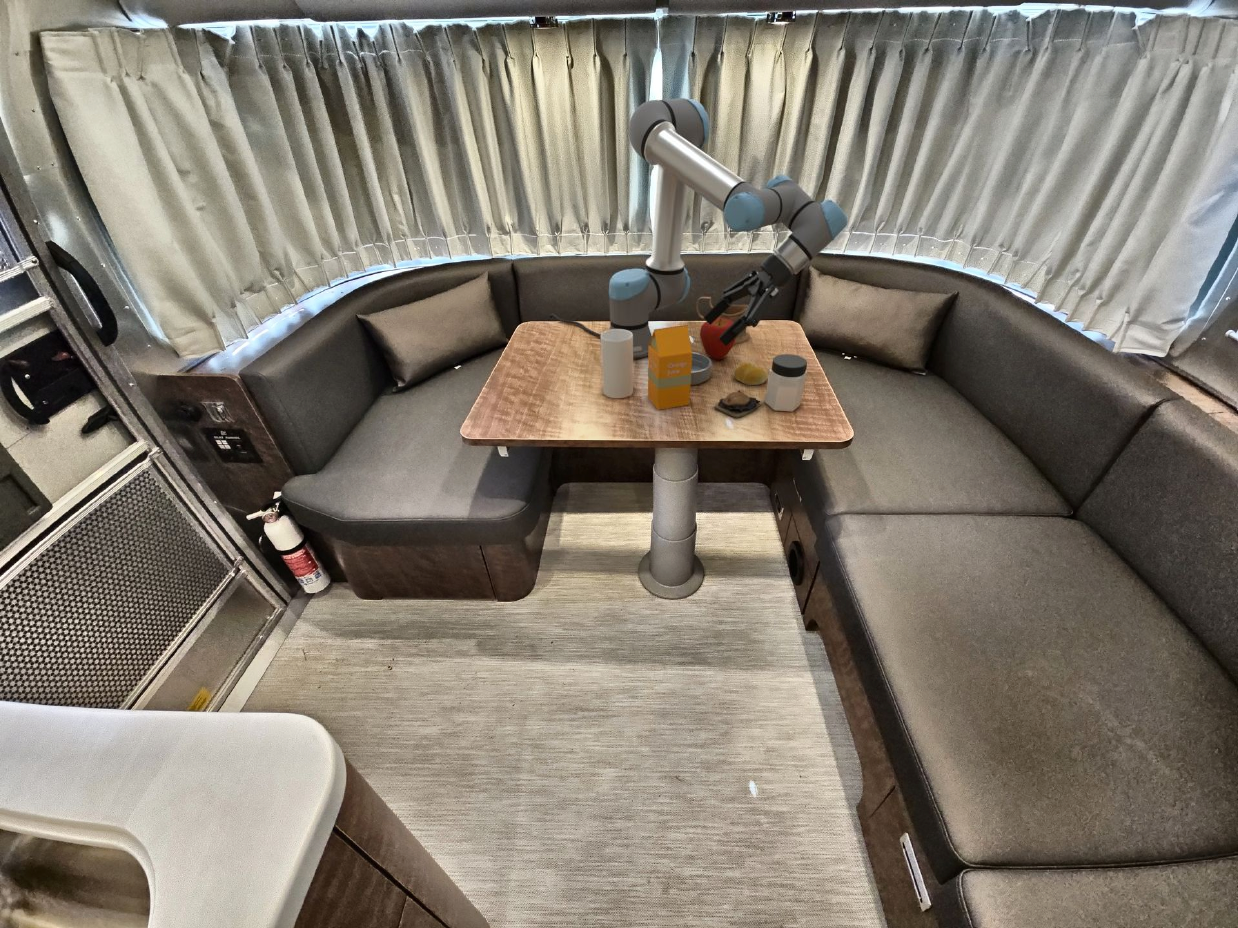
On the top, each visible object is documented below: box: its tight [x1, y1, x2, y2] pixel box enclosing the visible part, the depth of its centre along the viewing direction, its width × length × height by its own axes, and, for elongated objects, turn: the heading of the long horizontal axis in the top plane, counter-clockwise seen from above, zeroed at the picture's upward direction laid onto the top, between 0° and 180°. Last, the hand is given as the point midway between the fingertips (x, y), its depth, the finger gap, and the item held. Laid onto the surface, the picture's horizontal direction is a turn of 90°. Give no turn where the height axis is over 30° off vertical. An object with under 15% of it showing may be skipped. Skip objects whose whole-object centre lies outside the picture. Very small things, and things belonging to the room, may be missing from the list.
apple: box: [699, 318, 737, 361], centre depth 157 cm, size 11×11×12 cm
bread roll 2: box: [714, 390, 762, 419], centre depth 135 cm, size 11×8×4 cm
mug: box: [695, 296, 749, 345], centre depth 171 cm, size 12×18×12 cm, turn 67°
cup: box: [600, 329, 634, 399], centre depth 140 cm, size 8×8×16 cm
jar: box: [764, 353, 808, 412], centre depth 133 cm, size 9×8×12 cm
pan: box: [690, 351, 713, 386], centre depth 150 cm, size 14×14×4 cm
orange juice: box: [647, 324, 693, 411], centre depth 134 cm, size 8×9×20 cm
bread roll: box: [732, 362, 767, 386], centre depth 147 cm, size 8×9×4 cm
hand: (713, 331), depth 129 cm, fingers open, 13 cm apart
